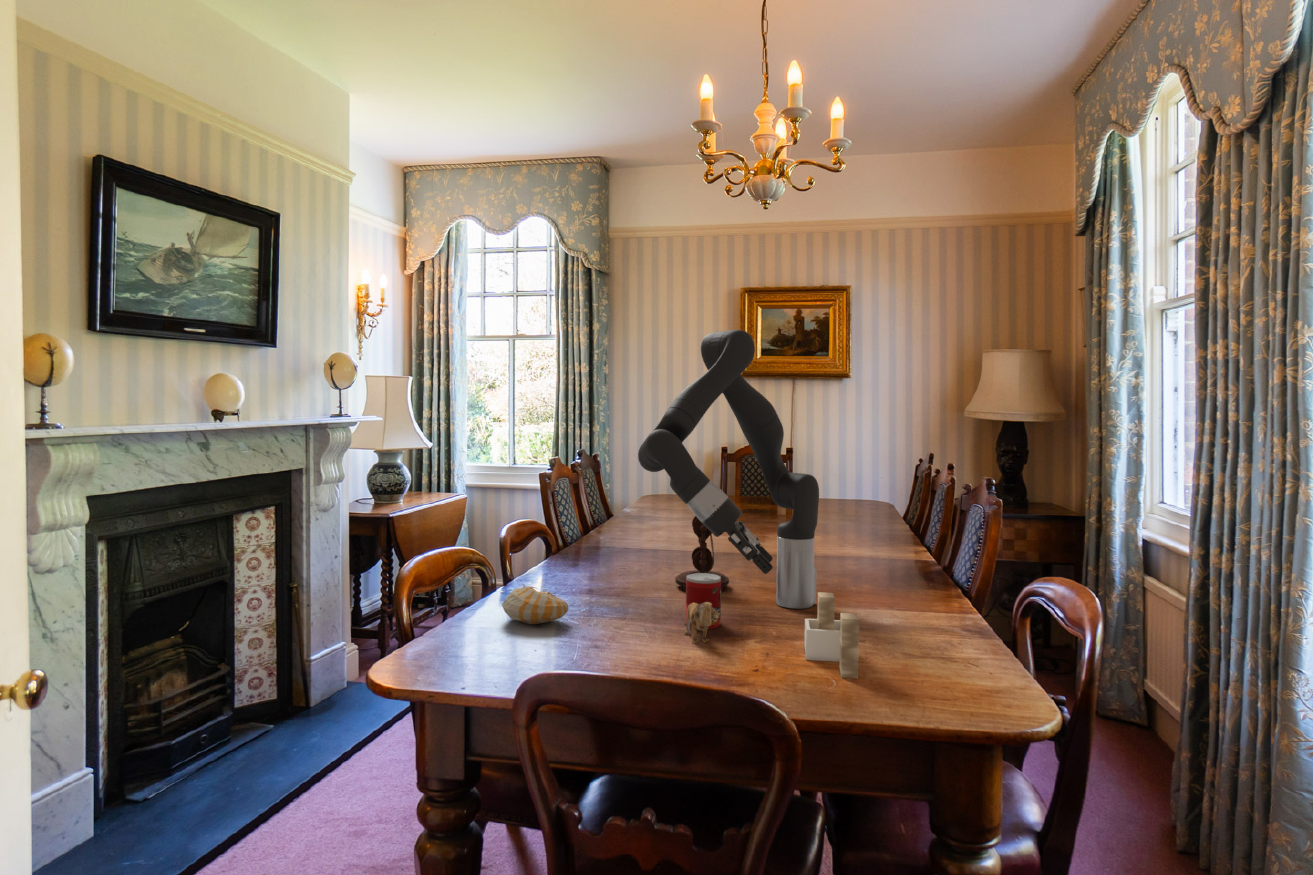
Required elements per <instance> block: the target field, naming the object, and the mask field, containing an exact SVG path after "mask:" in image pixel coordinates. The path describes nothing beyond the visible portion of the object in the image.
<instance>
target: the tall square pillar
mask: <svg viewBox="0 0 1313 875" xmlns="http://www.w3.org/2000/svg"><path fill="white" fill-rule="evenodd" d="M835 602H836V600H835V594H834V593H833V592H825V591H824V592H822V591H821V592H820V591H819V592H818V591H817V617H816V619H817V629H821V630H834V620H835Z"/></svg>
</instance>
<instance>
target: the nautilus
mask: <svg viewBox="0 0 1313 875" xmlns="http://www.w3.org/2000/svg"><path fill="white" fill-rule="evenodd" d="M522 585H523V587H517V588H514V589H513V590H512V591H511V592H510V593H509V594H508V595H507V596H506V598H505V599H504V601H503V602H502V604H501V606H502V609H503V611H504V613H505V614H506V615H507V616H508V617H509V618H510V619H511V620H514V621H520V622H523V623H524V624H525V623H526V624H528V625H537V624H538V625H539V624H545V623H548V624H549V623H551V622H552V621H556V620H559V619H561V618H563V617H564V616H565V615H566V614H567V613H568V611H569V604H568V603H567V601H565V600H563V599H562V598H560V597H558V596H555V595H554V594H553V593H552V592H551V591H547V590H541V591H537V590H538V588H537V587H534V586H529V585H528V586H525V585H524V583H522ZM535 589H537V590H535Z"/></svg>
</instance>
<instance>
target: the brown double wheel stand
mask: <svg viewBox="0 0 1313 875" xmlns="http://www.w3.org/2000/svg"><path fill="white" fill-rule="evenodd" d="M691 527H692V531H693V533H694V535H695V536H697V538H698V544H699V546H697V547H695V548H694V549H693V550H692V553H691V560H692V565H693V568H694V569H695V570H688V571H684V572H681V573H680V574H678V575H676V576H675V581H674V583H675V584H676V585H678V586H680V587H683V591H684V592H686V578H687V576H688V575H690V574H695V573H709V574H715V575H718V576H720V577H721V592H722V591H723V587H726V586H728V585H729V583H730V578H729V577H728V576H726V575H725V574H724V573H722V572H718V571H715V570H713V568H714V564H715V552H714V550H715V549H714V542H713V533H712V532H711V531H710V530H709V529H708V528H707V527H706V526H705V525H704V524H703V523H702V522H701V521H700V520H699V519H698V518H697V517H696V516H695V515H694V516H693V519H692V520H691ZM709 538H710V540H709V541H710V547H711V550H710V549H709V548H708V543H707V542H706V541H707V540H708V539H709Z"/></svg>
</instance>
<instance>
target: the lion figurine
mask: <svg viewBox="0 0 1313 875" xmlns="http://www.w3.org/2000/svg"><path fill="white" fill-rule="evenodd" d="M719 615H720V613H718V612H717V611H716V610H715V609H714V608H713V607H712V603H710V602H704V603H701V604H697V603H692V604H690V605H689V606H688V608H687V615H686V614H685V620H686V619H687V622H686V623H685V624H684V626H685V631H684V632H683V634H684V635H690V623H691V624H692V627H691V636H692V640H691V643H692V644H694V643H696V644H698V637H697V631H701V632H702V635H701V640H702V641H703V642H704V643H708V642H709V641H710V639H709V638H707V633H708V630H709V629H708V627H709V626H710V625H711V624H712V620H713V621H715V622H716V621H717V618H718V617H719Z"/></svg>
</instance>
